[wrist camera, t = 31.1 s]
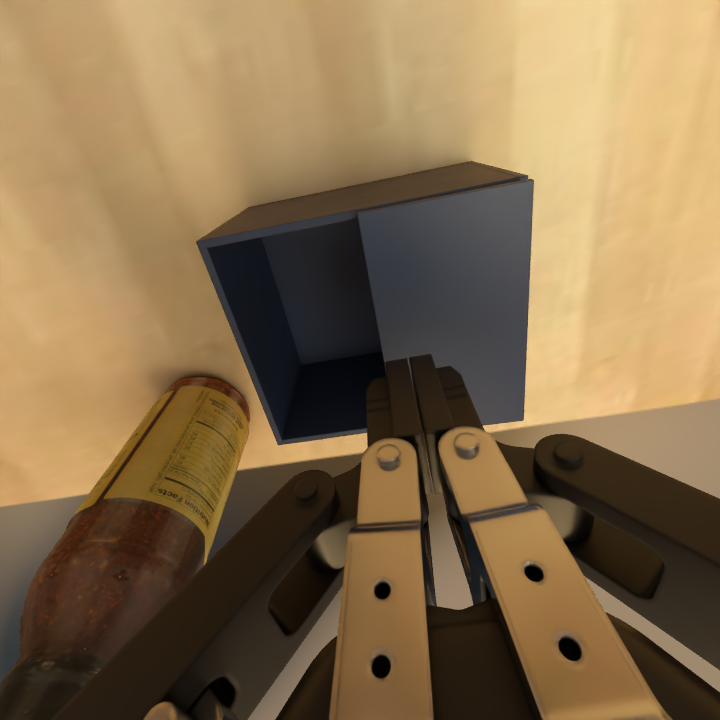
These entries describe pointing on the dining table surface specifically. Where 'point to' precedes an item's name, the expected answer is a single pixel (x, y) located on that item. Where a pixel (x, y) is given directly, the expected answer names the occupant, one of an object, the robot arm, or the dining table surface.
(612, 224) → the dining table surface
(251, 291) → the carton
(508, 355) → the flap
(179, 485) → the sauce bottle
